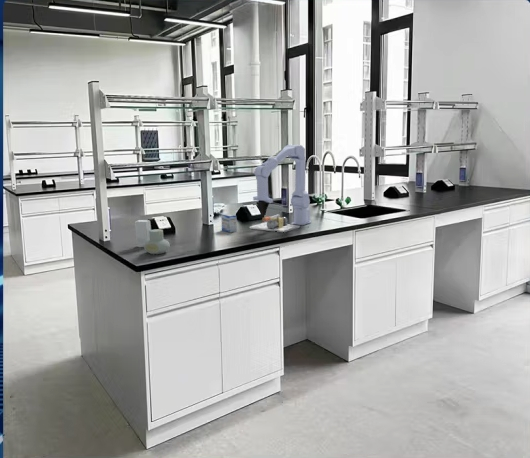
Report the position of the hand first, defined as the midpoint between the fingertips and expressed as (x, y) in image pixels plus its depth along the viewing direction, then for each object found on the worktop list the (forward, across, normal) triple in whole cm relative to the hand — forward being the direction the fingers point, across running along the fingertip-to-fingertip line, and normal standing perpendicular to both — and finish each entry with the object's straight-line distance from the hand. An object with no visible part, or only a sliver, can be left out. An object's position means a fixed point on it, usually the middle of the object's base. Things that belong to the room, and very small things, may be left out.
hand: (263, 215), depth 252 cm
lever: (+2, +1, +5) cm, 6 cm away
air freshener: (+8, +8, -63) cm, 64 cm away
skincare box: (+8, -8, -62) cm, 64 cm away
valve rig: (+8, -2, +9) cm, 13 cm away
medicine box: (+8, -12, -14) cm, 20 cm away
